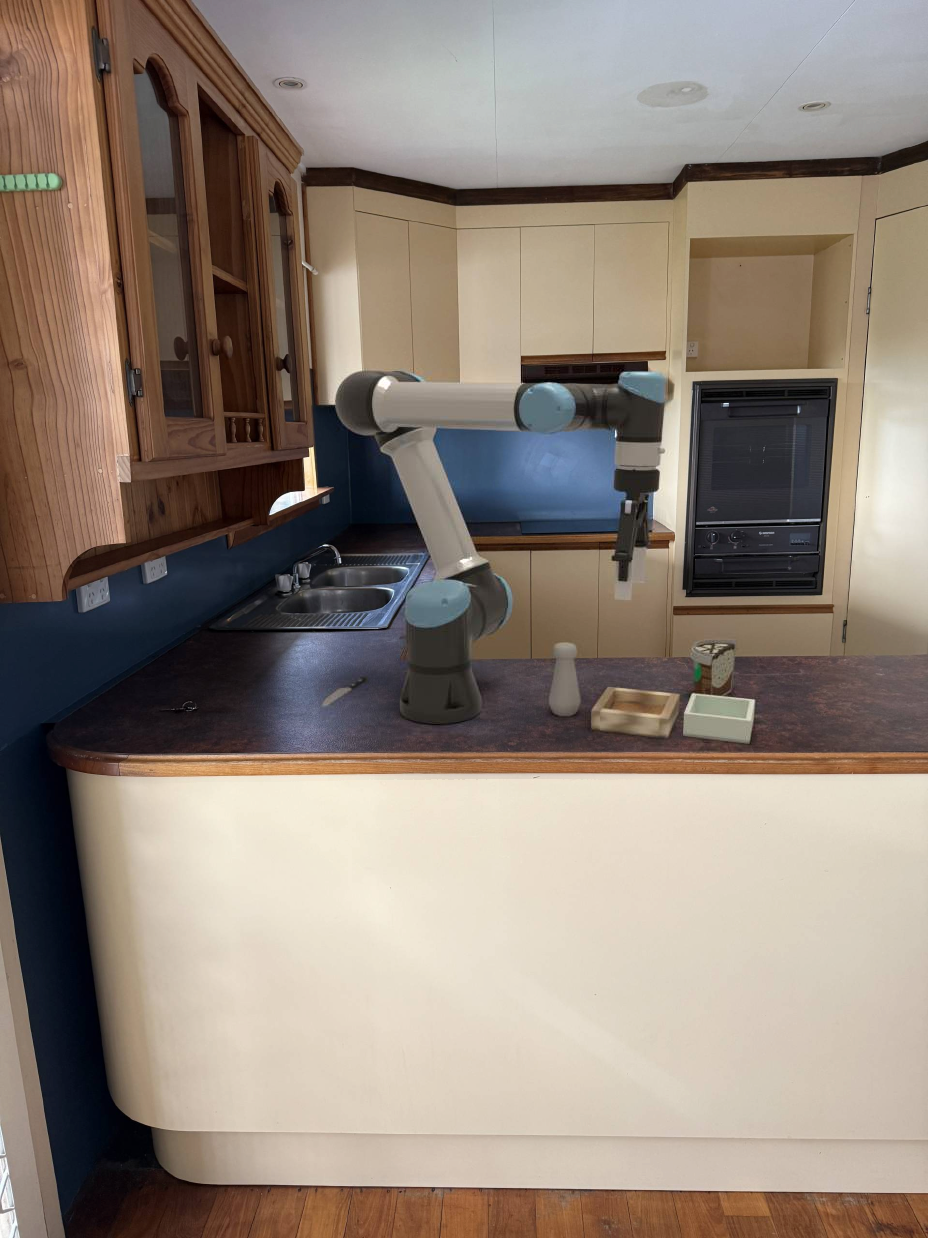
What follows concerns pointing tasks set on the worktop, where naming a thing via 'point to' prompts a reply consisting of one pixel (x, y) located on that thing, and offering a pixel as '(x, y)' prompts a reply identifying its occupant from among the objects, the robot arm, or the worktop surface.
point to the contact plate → (637, 708)
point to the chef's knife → (342, 692)
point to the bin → (719, 718)
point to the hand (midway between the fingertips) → (629, 590)
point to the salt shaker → (564, 681)
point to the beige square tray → (635, 713)
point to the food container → (713, 666)
